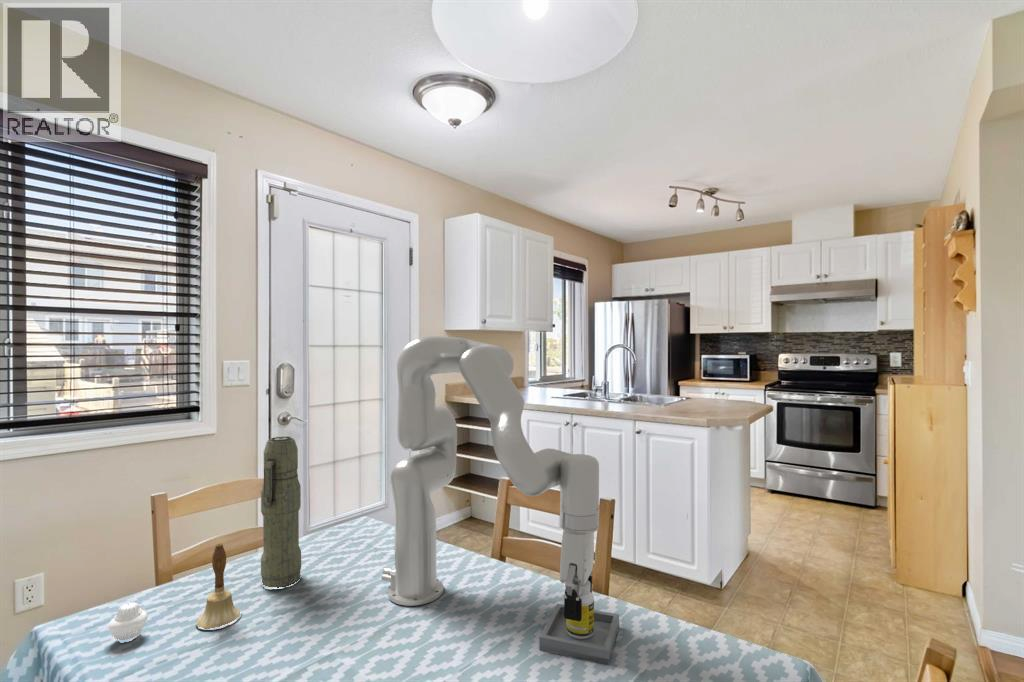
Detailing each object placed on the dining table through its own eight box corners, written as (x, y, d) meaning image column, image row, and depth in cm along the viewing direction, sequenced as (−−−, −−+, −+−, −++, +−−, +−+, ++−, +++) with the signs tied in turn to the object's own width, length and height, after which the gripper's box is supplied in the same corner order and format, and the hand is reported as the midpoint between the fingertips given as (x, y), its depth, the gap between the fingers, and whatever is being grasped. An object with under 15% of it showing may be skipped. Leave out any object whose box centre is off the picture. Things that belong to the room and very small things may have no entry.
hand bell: (250, 615, 108) (250, 540, 108) (213, 635, 101) (212, 555, 101) (224, 606, 112) (224, 534, 112) (186, 626, 104) (186, 548, 104)
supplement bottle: (593, 641, 96) (593, 590, 96) (564, 638, 97) (564, 587, 97) (594, 626, 101) (594, 577, 101) (567, 623, 102) (567, 574, 102)
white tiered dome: (114, 634, 101) (114, 599, 101) (151, 627, 104) (151, 593, 104) (103, 651, 96) (103, 614, 96) (142, 643, 98) (142, 607, 98)
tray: (539, 650, 95) (539, 636, 95) (557, 615, 107) (557, 603, 107) (608, 664, 91) (608, 650, 91) (619, 626, 103) (619, 614, 103)
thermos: (309, 570, 129) (308, 433, 130) (289, 593, 118) (288, 442, 118) (274, 570, 129) (274, 434, 130) (251, 593, 118) (250, 443, 118)
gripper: (571, 503, 109) (570, 583, 109) (548, 532, 92) (547, 625, 92) (606, 508, 106) (605, 589, 106) (589, 538, 90) (588, 634, 90)
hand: (578, 606), depth 99 cm, fingers open, 9 cm apart
